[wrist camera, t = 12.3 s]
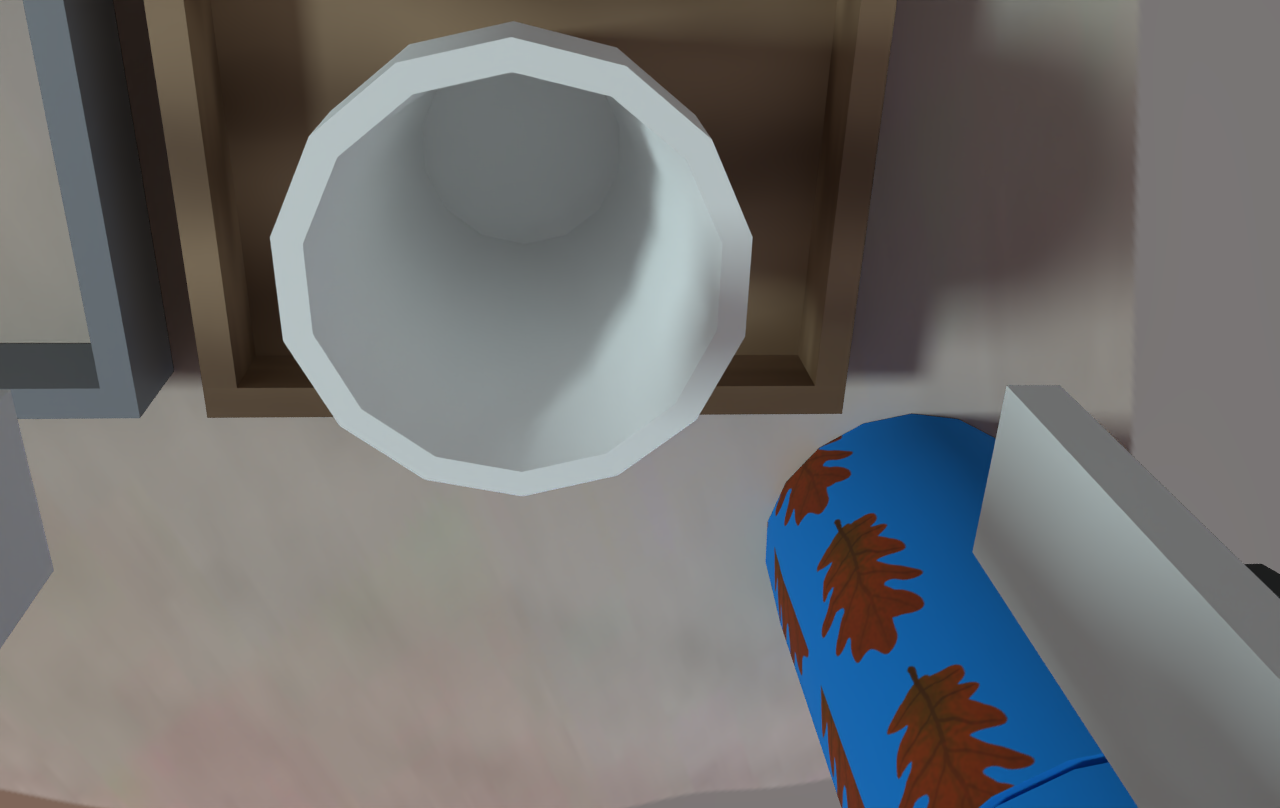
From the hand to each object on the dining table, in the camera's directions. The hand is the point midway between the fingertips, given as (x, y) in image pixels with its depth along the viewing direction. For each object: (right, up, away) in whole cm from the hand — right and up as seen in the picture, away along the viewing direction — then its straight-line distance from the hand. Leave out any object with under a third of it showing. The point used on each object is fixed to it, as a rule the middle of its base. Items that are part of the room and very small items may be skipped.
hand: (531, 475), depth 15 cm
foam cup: (-2, +9, +18) cm, 21 cm away
